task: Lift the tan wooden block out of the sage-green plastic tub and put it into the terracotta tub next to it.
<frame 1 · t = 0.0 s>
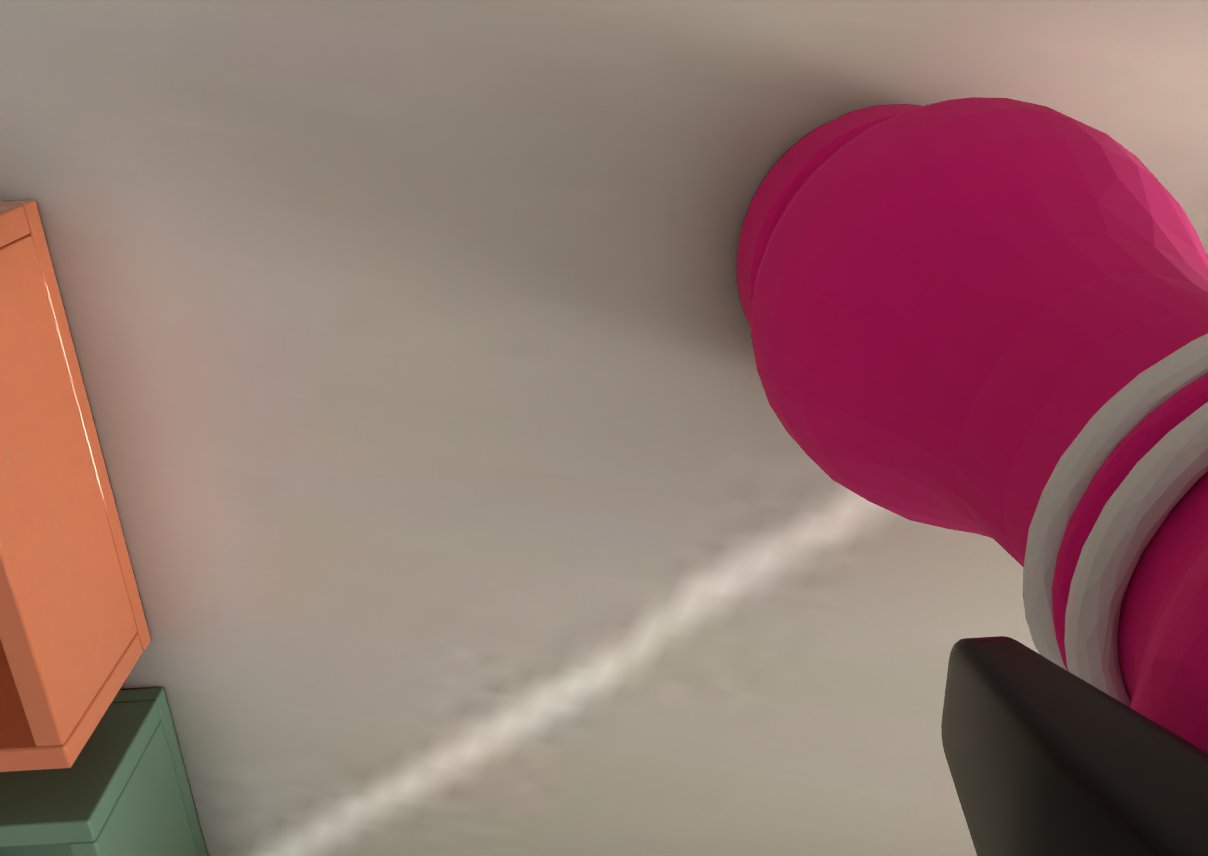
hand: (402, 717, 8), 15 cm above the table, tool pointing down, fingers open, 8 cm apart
pepper mill: (875, 252, 22), on the table, touching gripper
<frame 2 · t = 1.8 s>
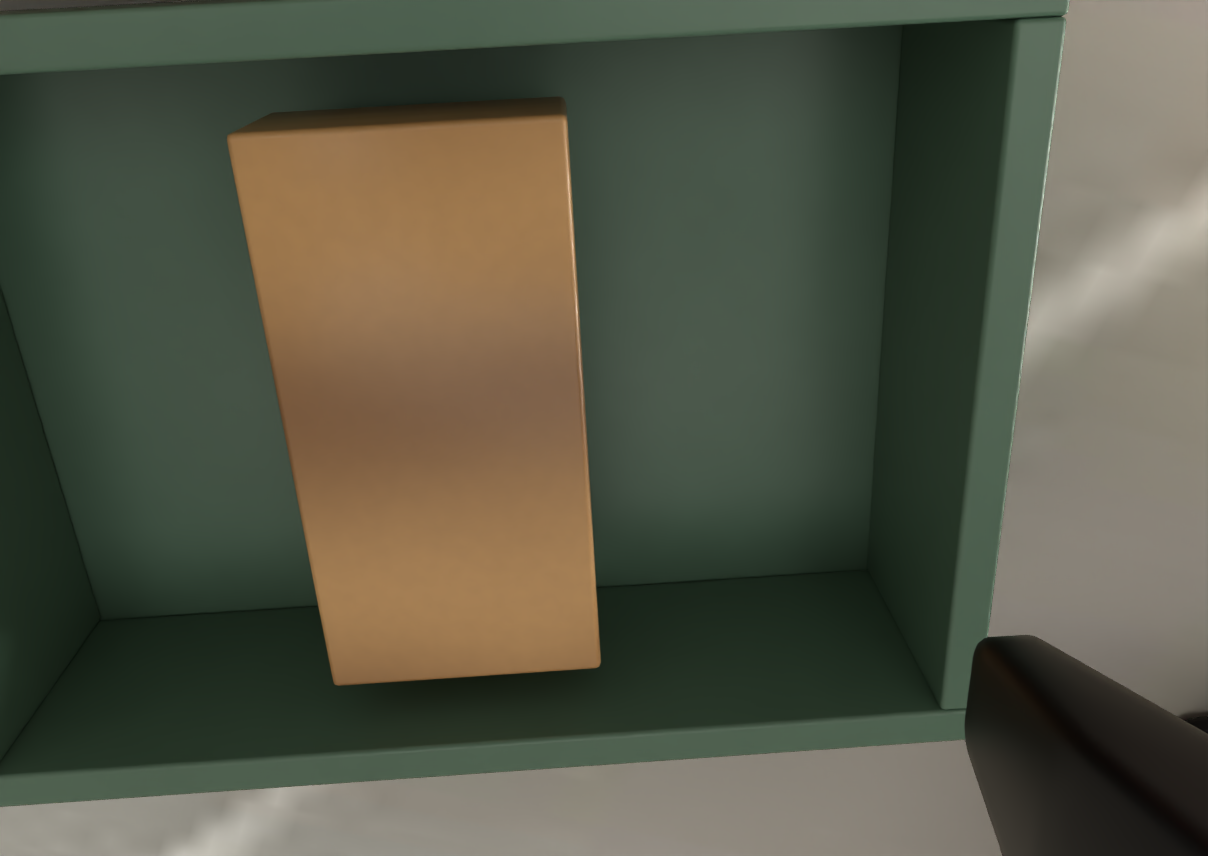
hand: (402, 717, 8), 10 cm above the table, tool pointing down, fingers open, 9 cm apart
green tub: (461, 336, 17), on the table
tan wooden block: (458, 346, 17), resting on green tub
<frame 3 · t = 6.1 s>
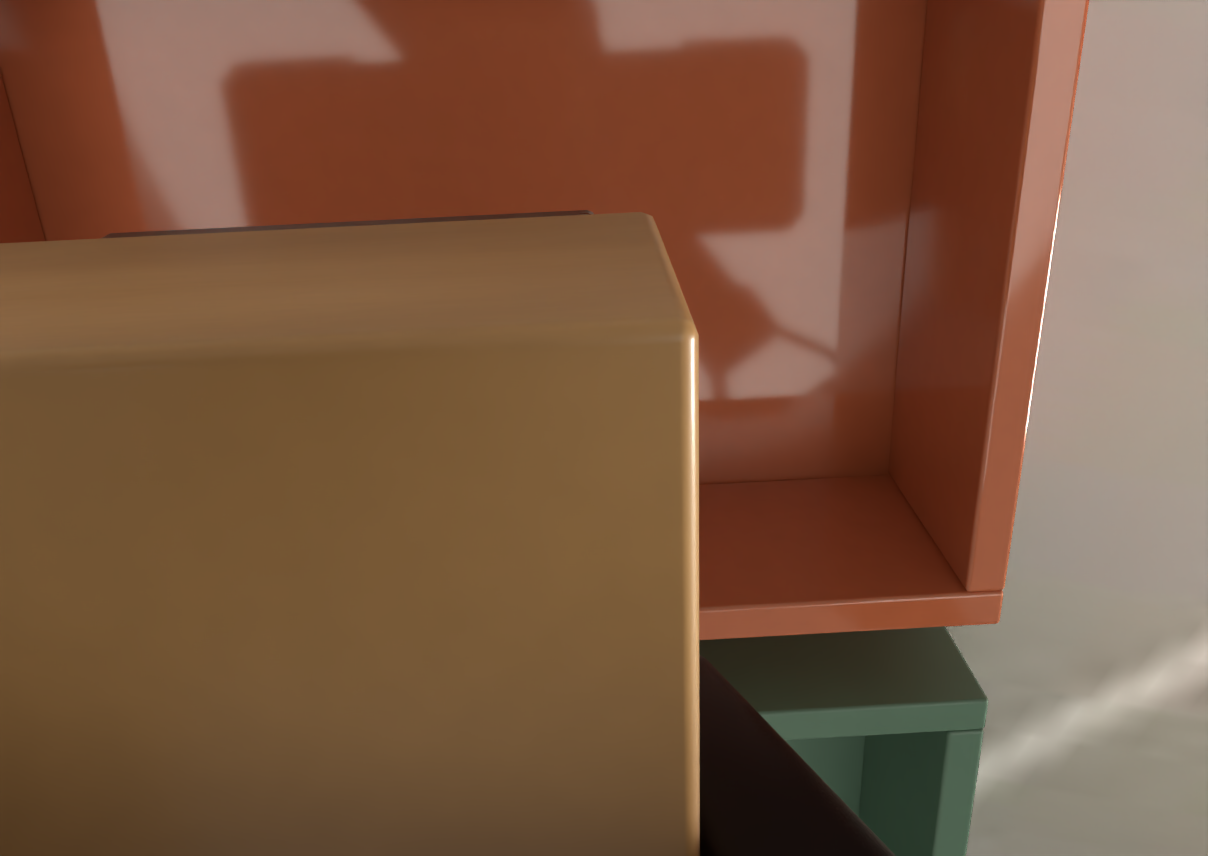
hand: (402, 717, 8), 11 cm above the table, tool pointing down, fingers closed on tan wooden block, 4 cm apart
terracotta tub: (485, 226, 17), on the table
green tub: (533, 784, 22), on the table
tan wooden block: (413, 655, 9), point 10 cm above the table, touching gripper
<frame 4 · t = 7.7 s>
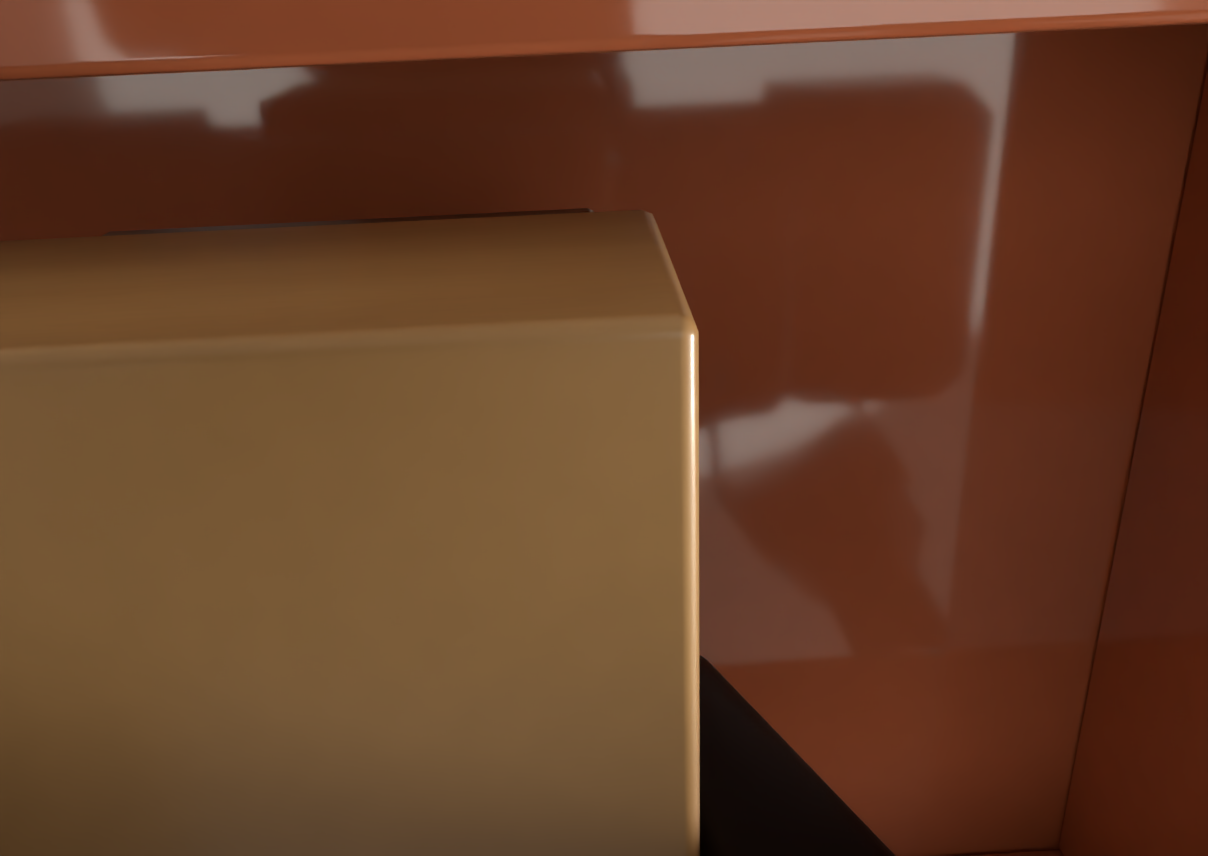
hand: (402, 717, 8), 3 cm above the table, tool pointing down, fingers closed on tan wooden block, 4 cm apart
terracotta tub: (441, 514, 11), on the table
tan wooden block: (413, 653, 9), point 2 cm above the table, touching gripper
when the fingers open (1 cm above the table, at t = 8.7 s): tan wooden block stays where it is, resting on terracotta tub.
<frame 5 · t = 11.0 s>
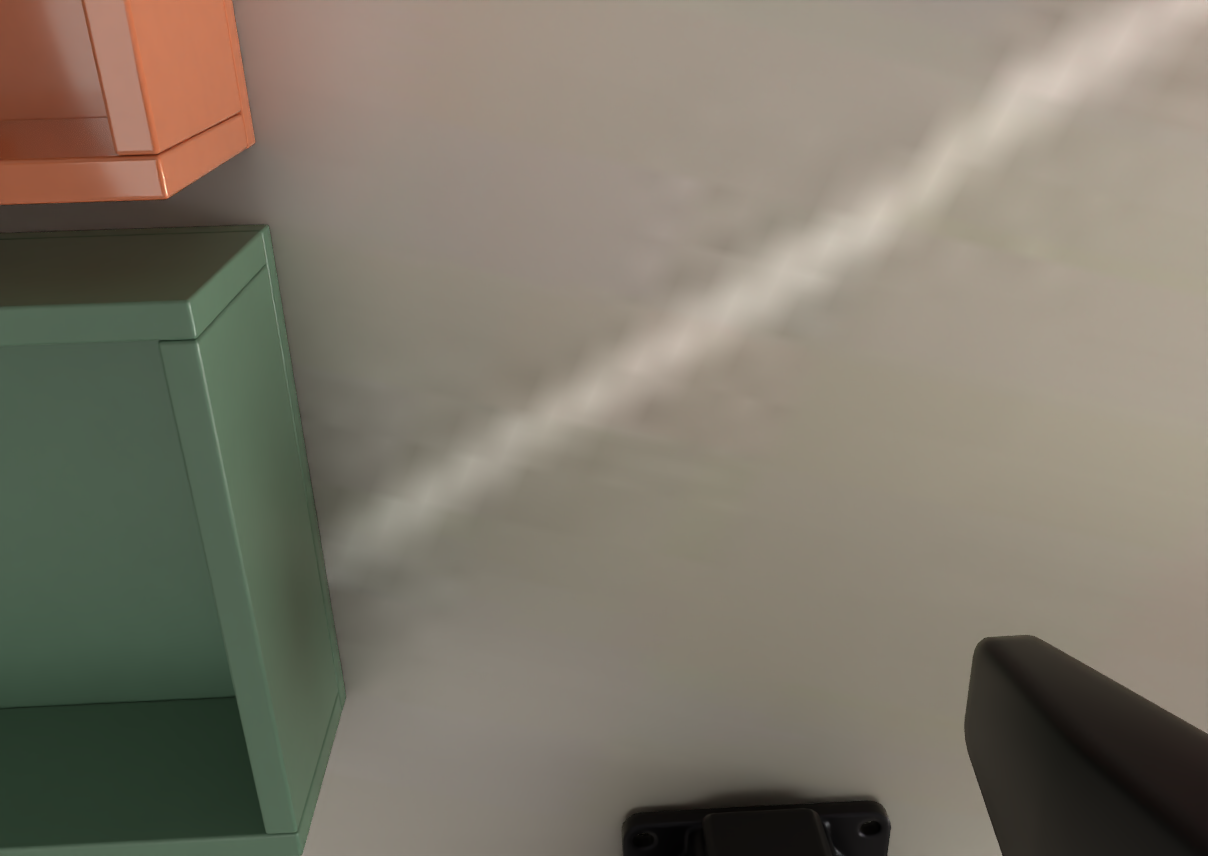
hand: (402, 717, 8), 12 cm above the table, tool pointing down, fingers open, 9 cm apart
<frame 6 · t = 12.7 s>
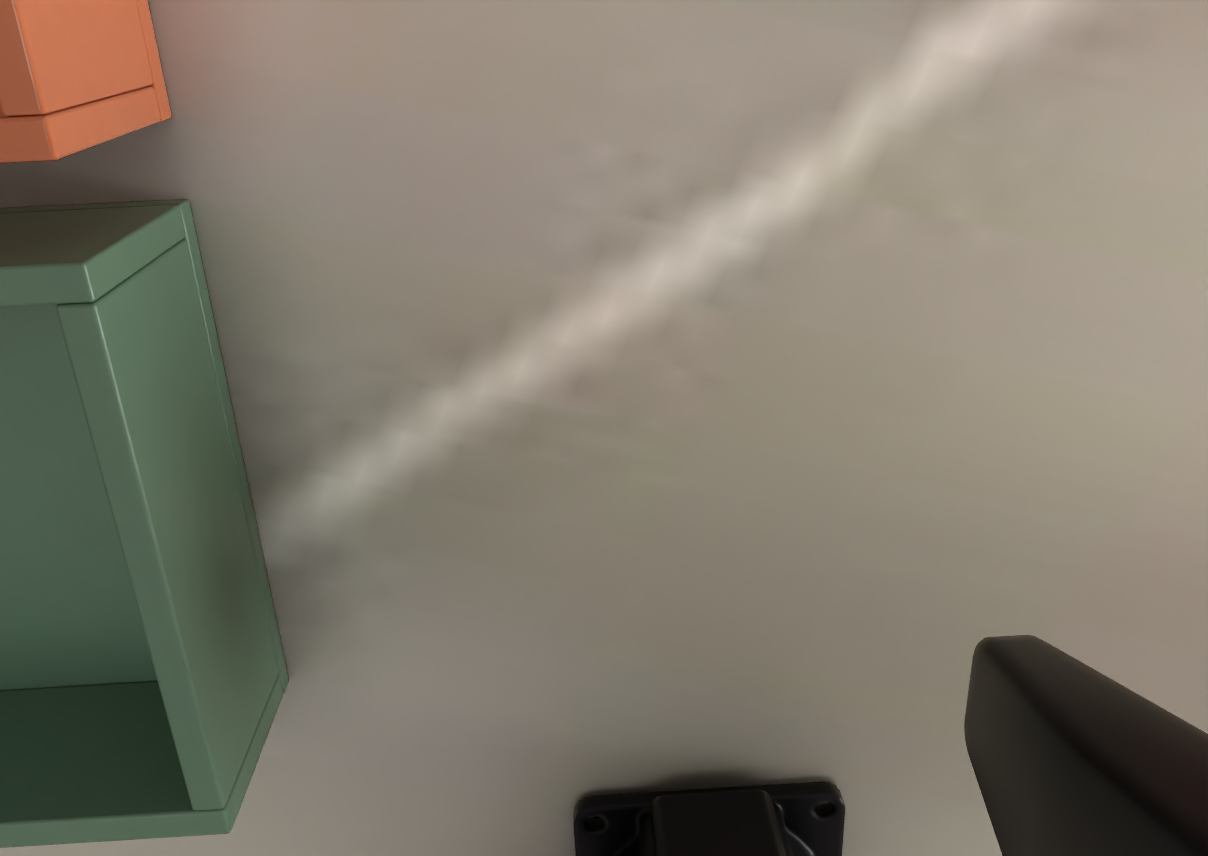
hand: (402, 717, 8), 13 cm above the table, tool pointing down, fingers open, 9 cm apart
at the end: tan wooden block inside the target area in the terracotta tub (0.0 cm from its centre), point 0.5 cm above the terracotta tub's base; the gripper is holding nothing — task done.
